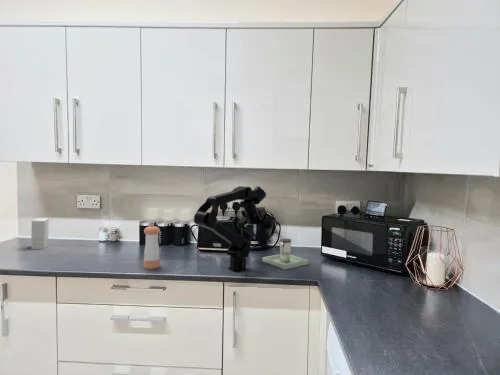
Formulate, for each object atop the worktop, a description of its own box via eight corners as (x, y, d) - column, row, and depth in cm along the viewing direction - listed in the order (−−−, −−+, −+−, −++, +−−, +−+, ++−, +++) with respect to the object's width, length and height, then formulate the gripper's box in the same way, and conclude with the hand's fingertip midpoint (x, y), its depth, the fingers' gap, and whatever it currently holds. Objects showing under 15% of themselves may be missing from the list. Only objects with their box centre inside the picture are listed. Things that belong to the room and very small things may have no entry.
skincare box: (35, 246, 184) (35, 218, 184) (49, 245, 186) (49, 217, 186) (30, 249, 176) (30, 220, 176) (45, 249, 178) (44, 220, 178)
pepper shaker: (155, 269, 147) (155, 226, 146) (140, 268, 149) (140, 225, 148) (162, 265, 154) (163, 224, 153) (148, 263, 156) (148, 223, 155)
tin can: (290, 263, 160) (290, 241, 159) (278, 262, 161) (279, 240, 160) (290, 260, 165) (291, 238, 164) (280, 259, 166) (280, 238, 165)
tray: (283, 269, 152) (283, 265, 152) (262, 261, 165) (262, 257, 165) (308, 264, 161) (308, 260, 161) (286, 256, 174) (286, 253, 174)
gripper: (274, 199, 156) (284, 225, 162) (241, 201, 166) (252, 226, 172) (265, 213, 148) (276, 240, 154) (231, 214, 158) (243, 240, 164)
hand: (262, 236), depth 161 cm, fingers open, 9 cm apart
